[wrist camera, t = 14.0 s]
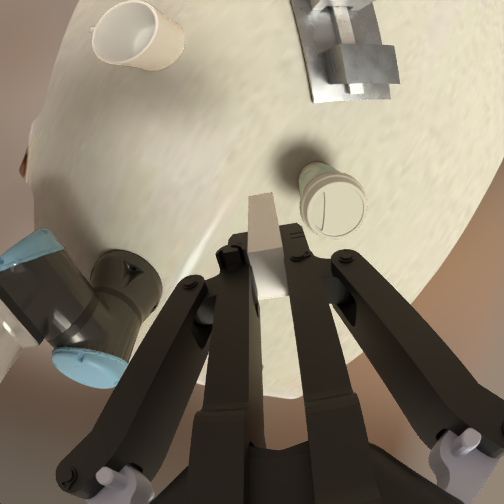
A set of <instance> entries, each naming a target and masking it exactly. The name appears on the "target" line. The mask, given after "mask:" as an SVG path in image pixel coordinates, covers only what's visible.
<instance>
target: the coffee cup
mask: <svg viewBox="0 0 504 504" xmlns="http://www.w3.org/2000/svg"><path fill="white" fill-rule="evenodd" d="M298 182H299V190H300V197H301V200H300V214H301V217H302V220H303V222H304V223H305V225H306V226H307V227H308V228H309V229H310V230H311V231H312V232H314V233H315V234H317V235H319V236H321V237H323V238H326V239H332V240H336V239H342V238H345V237H348V236H350V235H351V234H353V233H354V232H356V231H357V230H358V229H359V228H360V226H361V225H362V224H363V222H364V220H365V217H366V214H367V198H366V194H365V192H364V190H363V187H362V186H361V184H360V183H359V182H358V181H357V180H356V179H355V178H354V177H352V176H350V175H348V174H345V173H341V172H339V171H337V170H336V169H334V168H332V167H330V166H328V165H327V164H325V163H321V162H313V163H310V164H308V165H306V166H305V167H304V168H303V169H302V170H301V172H300V174H299V179H298Z"/></svg>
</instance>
